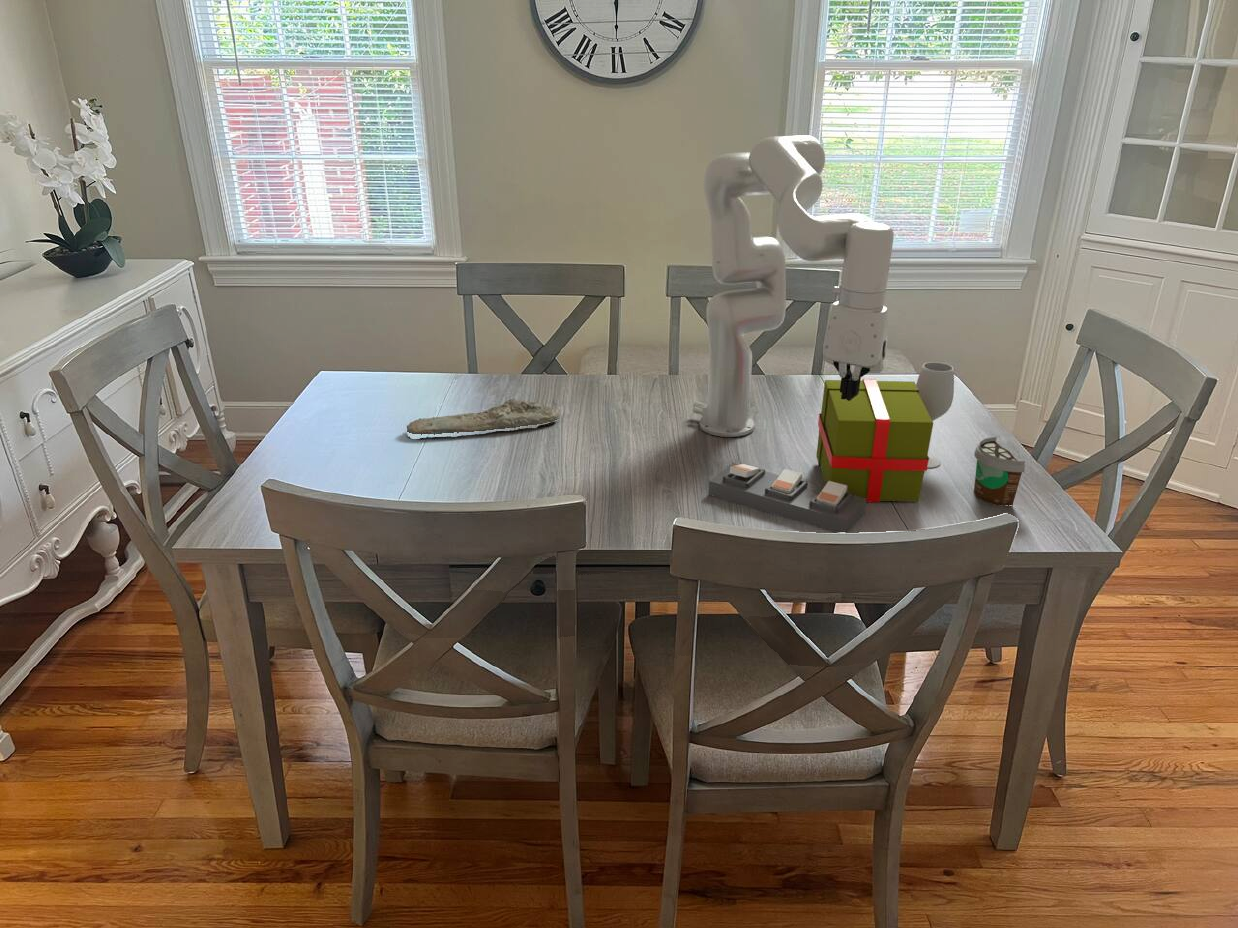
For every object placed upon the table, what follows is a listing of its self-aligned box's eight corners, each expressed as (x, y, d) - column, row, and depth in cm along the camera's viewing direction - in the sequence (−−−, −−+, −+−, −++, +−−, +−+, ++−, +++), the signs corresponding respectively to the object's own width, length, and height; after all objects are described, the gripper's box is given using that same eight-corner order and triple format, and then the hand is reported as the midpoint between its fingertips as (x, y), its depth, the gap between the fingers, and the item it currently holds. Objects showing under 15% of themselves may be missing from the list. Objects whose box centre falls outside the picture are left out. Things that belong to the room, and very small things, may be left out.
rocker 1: (729, 472, 171) (730, 466, 171) (741, 469, 175) (743, 463, 175) (746, 477, 169) (747, 470, 169) (758, 474, 174) (759, 467, 173)
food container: (956, 482, 178) (964, 436, 173) (986, 481, 178) (995, 435, 174) (984, 511, 167) (994, 463, 162) (1016, 510, 167) (1026, 462, 163)
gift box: (914, 520, 170) (889, 457, 192) (953, 426, 160) (923, 371, 182) (810, 500, 170) (797, 439, 192) (843, 405, 160) (825, 351, 181)
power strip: (708, 494, 173) (709, 476, 171) (732, 475, 180) (733, 458, 179) (845, 534, 159) (847, 515, 157) (864, 512, 166) (867, 493, 164)
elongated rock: (406, 433, 204) (409, 453, 196) (402, 413, 202) (406, 432, 193) (554, 410, 212) (563, 428, 204) (552, 390, 209) (561, 407, 201)
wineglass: (922, 471, 182) (938, 375, 173) (896, 457, 188) (910, 364, 179) (949, 464, 185) (966, 369, 176) (922, 450, 191) (937, 358, 182)
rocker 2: (771, 490, 167) (771, 485, 166) (784, 473, 171) (784, 468, 170) (789, 495, 165) (789, 490, 164) (802, 478, 169) (801, 472, 168)
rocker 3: (816, 503, 162) (816, 497, 162) (828, 485, 166) (828, 480, 165) (835, 508, 161) (835, 502, 160) (847, 490, 164) (847, 484, 163)
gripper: (811, 295, 151) (801, 395, 160) (897, 311, 144) (881, 414, 152) (829, 286, 157) (817, 382, 165) (912, 300, 149) (896, 400, 158)
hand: (848, 397), depth 159 cm, fingers closed
